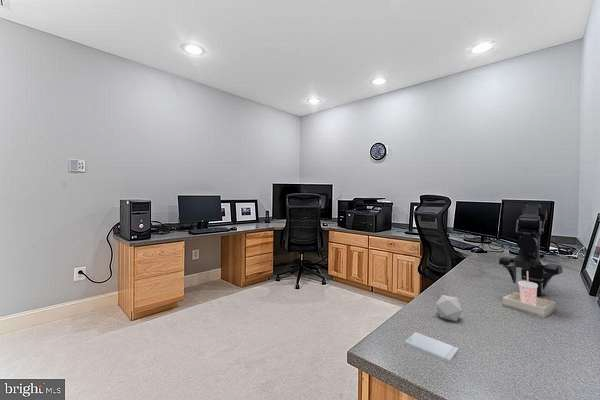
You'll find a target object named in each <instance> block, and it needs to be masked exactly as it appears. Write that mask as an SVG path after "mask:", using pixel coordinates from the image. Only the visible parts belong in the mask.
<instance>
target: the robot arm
mask: <svg viewBox="0 0 600 400" xmlns="http://www.w3.org/2000/svg"><path fill="white" fill-rule="evenodd" d="M547 218H548V213H547V208H545V207H543V206H542V205H541V204H540V203H527V204H525V206H524V207H522V214H521V215H520V216H519V217H518V218H517V219H516V223H515V224H516V225H515V234H519V238H518V239H517V240H516V246H517V247H518V254H517V255H516V256H515V257H511V256H510V257H509V256H502V257H500V258H499V259H498V265H501V266H502V267H503V268H505V269H506V270H507V271H508V273H509V275H510V277H511V280H512V282H513V284H516V282H517V269H519V268H520V270H521V271H520V273H521V278H520V279H521V281H527V271H528V281H529V282H533V283H536V284H538V287H537V297H538V298H542V297H543V296H545V293H544V292H543V290H545V289H546V288H547V285H548V284H549V282H550V280H551V278H553V277H554V276H558V275H560V274H563V273H564V272H563V267H562V266H561V265H560V264H554V263H546V264H543V263H542V261H541V260H540V257H541V255H540V252H541V251H540V248H541V246H540V245H541V236H542V234H544V233H545V232H544V230H545V223H546V221H547V220H548V219H547Z"/></svg>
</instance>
